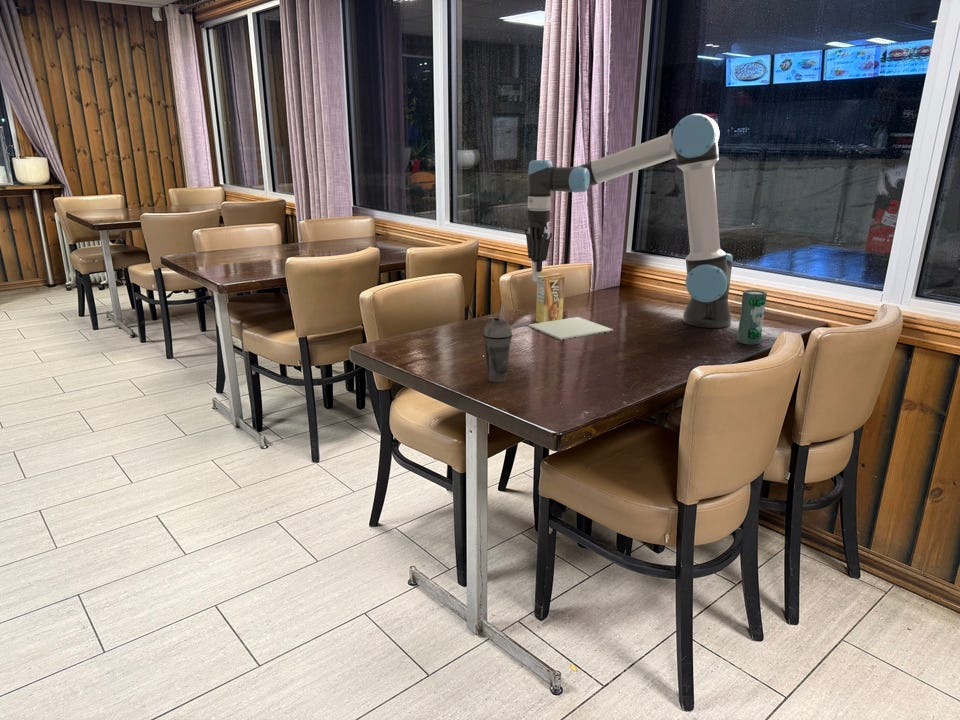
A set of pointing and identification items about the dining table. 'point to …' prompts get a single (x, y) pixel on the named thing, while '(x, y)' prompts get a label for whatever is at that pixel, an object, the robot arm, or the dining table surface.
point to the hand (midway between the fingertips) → (536, 280)
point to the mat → (570, 328)
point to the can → (751, 316)
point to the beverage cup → (497, 347)
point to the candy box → (549, 297)
